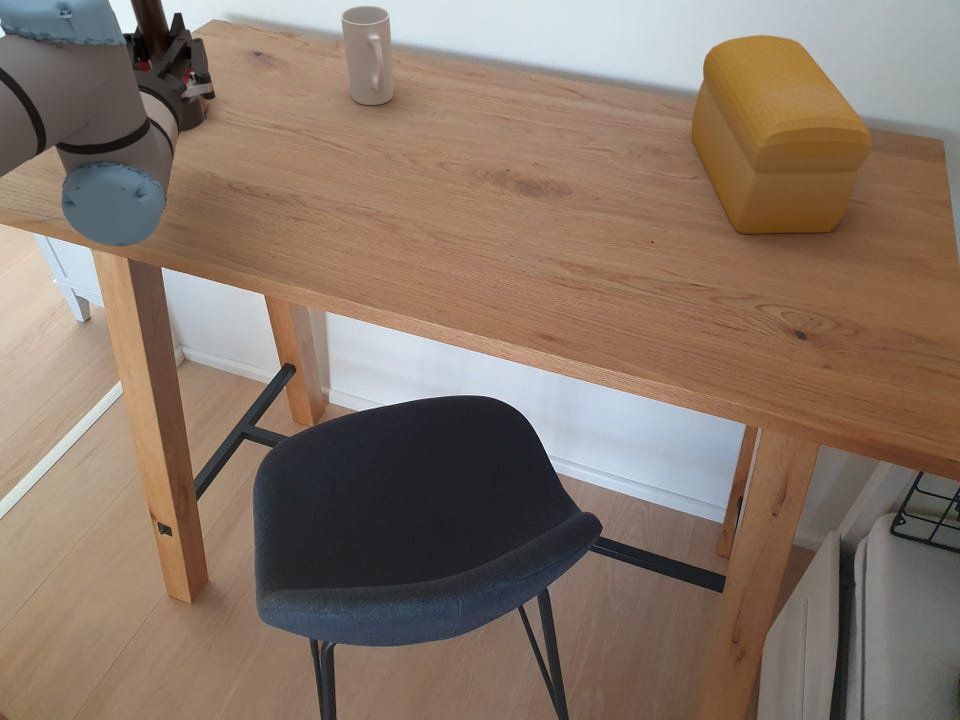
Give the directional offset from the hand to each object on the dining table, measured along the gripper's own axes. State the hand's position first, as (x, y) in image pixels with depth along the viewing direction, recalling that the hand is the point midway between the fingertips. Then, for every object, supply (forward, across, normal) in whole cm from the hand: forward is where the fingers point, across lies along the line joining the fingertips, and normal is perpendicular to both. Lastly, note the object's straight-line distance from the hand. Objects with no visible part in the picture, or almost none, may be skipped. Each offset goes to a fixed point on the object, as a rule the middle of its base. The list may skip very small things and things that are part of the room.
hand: (164, 25), depth 89 cm
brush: (-5, 0, -9) cm, 11 cm away
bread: (-15, +72, -18) cm, 75 cm away
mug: (+14, +24, -18) cm, 33 cm away
